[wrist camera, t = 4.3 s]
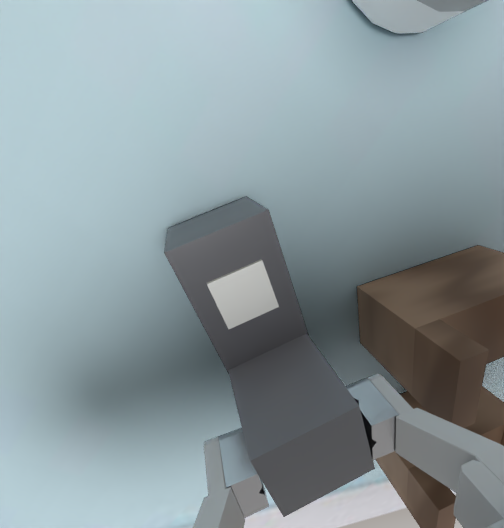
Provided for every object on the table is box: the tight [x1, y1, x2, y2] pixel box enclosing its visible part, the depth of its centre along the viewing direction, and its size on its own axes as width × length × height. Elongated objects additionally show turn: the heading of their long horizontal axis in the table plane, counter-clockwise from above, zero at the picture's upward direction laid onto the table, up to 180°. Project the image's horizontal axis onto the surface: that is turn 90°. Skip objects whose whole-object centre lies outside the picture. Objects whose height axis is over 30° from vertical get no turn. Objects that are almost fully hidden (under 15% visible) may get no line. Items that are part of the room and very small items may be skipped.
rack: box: [357, 245, 504, 528], centre depth 16 cm, size 8×14×6 cm, turn 12°
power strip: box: [164, 196, 375, 517], centre depth 11 cm, size 4×14×6 cm, turn 19°
